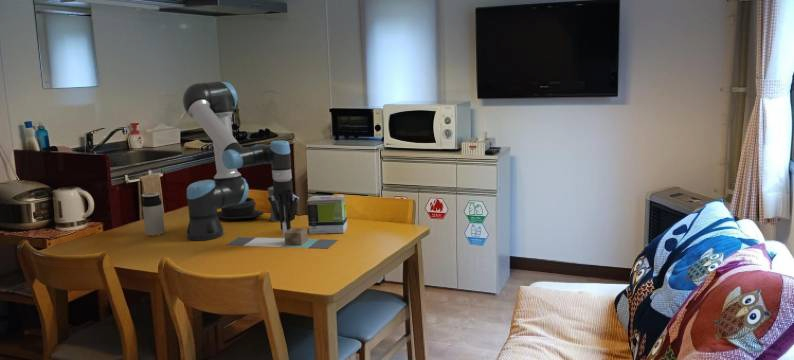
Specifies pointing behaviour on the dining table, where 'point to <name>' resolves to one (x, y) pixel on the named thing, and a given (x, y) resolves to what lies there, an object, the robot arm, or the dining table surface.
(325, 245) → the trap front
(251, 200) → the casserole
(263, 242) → the tile
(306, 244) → the pad
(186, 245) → the dining table surface
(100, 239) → the dining table surface
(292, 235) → the walnut block
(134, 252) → the dining table surface
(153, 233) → the travel mug
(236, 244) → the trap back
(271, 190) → the coffeepot
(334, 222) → the tea box
